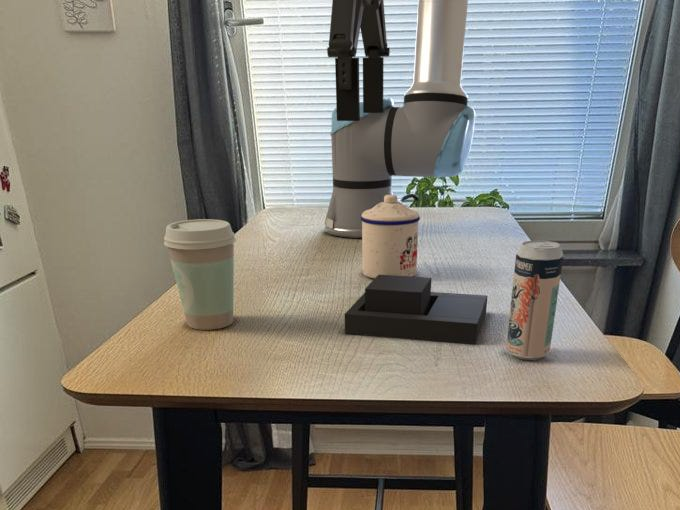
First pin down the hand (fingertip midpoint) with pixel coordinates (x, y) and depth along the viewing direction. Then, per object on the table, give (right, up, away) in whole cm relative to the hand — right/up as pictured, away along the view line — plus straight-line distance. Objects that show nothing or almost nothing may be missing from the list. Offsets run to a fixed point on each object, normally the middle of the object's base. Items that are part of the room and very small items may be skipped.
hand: (361, 116), depth 87 cm
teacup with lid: (+5, -14, +21) cm, 25 cm away
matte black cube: (+5, -27, -2) cm, 28 cm away
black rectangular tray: (+7, -28, -2) cm, 29 cm away
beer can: (+19, -34, -12) cm, 40 cm away
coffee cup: (-19, -27, -1) cm, 34 cm away
